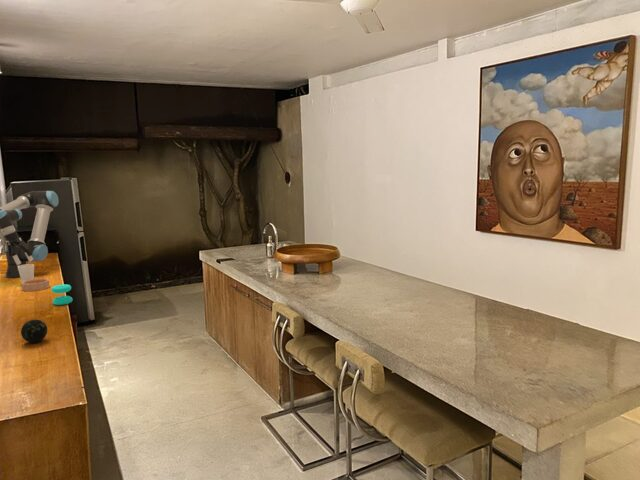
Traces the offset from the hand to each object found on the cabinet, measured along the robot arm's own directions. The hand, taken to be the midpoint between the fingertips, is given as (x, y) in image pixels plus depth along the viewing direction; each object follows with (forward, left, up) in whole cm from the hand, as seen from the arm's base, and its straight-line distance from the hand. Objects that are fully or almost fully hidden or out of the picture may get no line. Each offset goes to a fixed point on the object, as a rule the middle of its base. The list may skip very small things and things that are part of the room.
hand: (25, 262), depth 326 cm
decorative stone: (+132, +18, -14) cm, 134 cm away
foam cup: (+5, +1, -14) cm, 15 cm away
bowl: (+19, +7, -14) cm, 25 cm away
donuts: (+67, +25, -14) cm, 73 cm away
